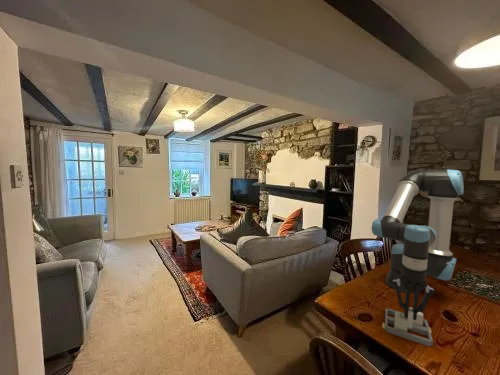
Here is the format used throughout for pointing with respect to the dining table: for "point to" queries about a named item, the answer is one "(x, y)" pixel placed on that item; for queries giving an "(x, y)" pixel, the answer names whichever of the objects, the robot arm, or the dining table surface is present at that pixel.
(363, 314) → the dining table surface
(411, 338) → the switch bank
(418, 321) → the ivory tab
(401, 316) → the sage tab
